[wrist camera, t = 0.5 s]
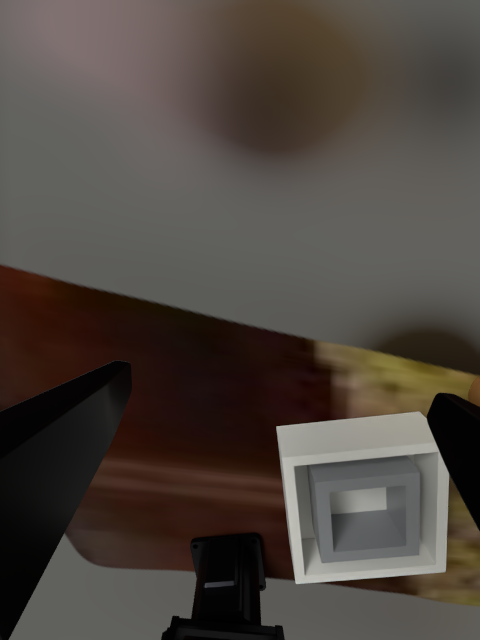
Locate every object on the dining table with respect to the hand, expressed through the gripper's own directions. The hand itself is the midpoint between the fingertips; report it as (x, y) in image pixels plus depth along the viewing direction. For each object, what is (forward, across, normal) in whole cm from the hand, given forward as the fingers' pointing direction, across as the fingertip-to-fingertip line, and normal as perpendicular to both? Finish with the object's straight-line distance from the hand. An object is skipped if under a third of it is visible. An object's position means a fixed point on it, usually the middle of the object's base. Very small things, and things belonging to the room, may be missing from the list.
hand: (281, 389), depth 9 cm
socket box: (+12, -10, +17) cm, 24 cm away
